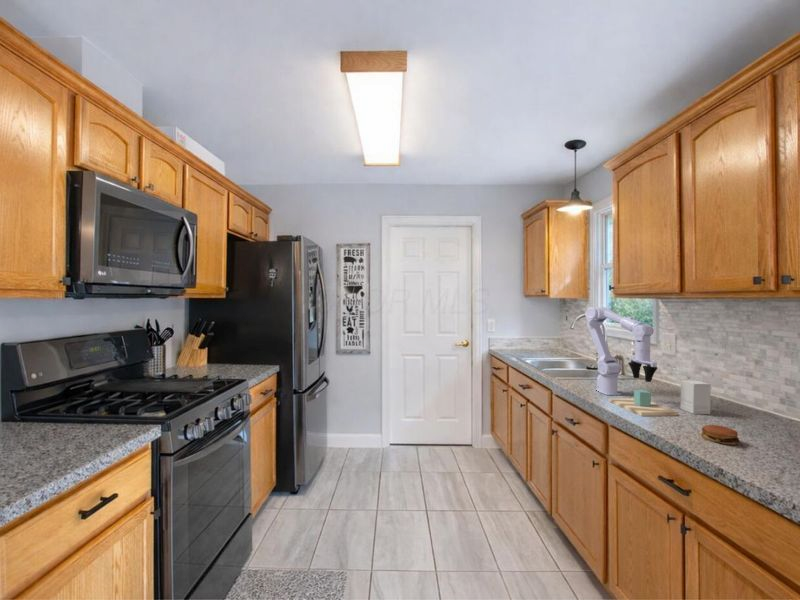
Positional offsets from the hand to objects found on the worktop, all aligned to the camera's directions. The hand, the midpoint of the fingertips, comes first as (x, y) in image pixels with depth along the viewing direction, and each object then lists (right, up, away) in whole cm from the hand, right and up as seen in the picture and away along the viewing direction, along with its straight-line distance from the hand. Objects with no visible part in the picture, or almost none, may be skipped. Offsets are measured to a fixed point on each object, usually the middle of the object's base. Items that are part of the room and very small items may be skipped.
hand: (642, 379), depth 168 cm
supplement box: (+14, -11, -13) cm, 22 cm away
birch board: (-6, -10, -9) cm, 15 cm away
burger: (-3, -11, -45) cm, 46 cm away
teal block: (-6, -9, -10) cm, 14 cm away
